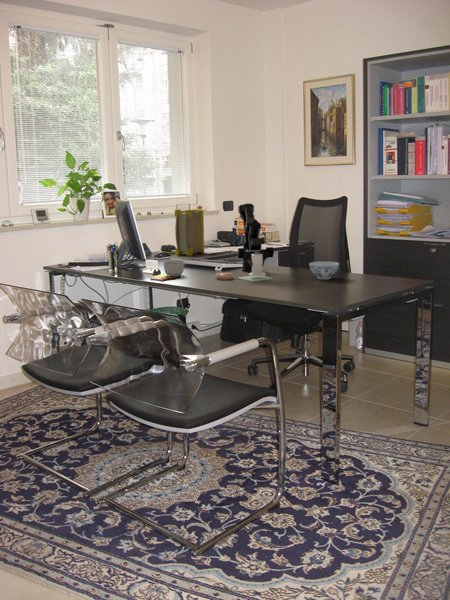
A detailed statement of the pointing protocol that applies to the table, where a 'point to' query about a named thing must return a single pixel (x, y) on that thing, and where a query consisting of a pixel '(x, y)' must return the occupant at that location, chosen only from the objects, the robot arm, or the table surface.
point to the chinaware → (324, 269)
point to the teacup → (174, 267)
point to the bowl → (224, 276)
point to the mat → (254, 278)
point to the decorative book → (189, 231)
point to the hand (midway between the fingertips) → (257, 265)
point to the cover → (257, 265)
